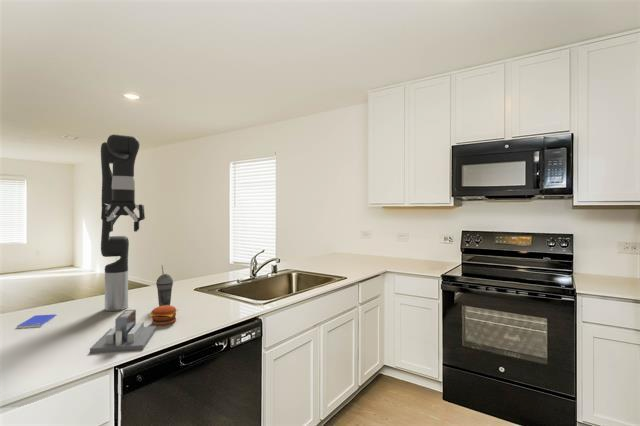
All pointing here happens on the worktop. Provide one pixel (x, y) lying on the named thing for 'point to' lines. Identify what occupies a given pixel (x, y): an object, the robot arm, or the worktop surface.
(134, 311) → the block
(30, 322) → the hard drive
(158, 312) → the hamburger
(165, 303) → the beverage cup
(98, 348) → the dock
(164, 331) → the worktop surface
